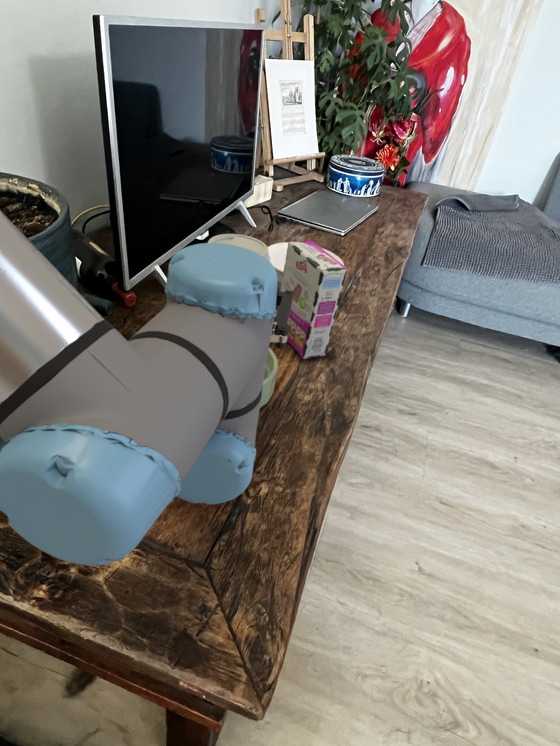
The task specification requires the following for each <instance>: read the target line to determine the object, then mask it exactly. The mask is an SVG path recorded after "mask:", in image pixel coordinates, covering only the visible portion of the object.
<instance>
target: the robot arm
mask: <svg viewBox="0 0 560 746" xmlns="http://www.w3.org/2000/svg"><path fill="white" fill-rule="evenodd" d="M164 293H165V295H166V296H165V297H166V298H165V299H166V303H165V305H164V308H162V309H161V310H160V311H159V312H158V313H156V315H154V317H152V319H150V320H149V321H148V322H147V323H146V324H145V325H143V326H142V327H141V328H140V329H139V330H138V331H137V332H135V333H134V334H133V335H132V336H131V337H129V339H126V338H125V337H124V336H123V335H122V334H121V333H120V332H119V331H118V330H117V329H116V328H115V327H114V326H113V325H112V324H111V323H110V322H109V321H108V320H107V319H105V318H104V317H103V316H102V315H101V314H100V313H99V312H98V311H97V309H95V308H94V307H93V306H92V304H90V302H89V301H87V300H86V298H85V297H84V296H83V295H82V294H81V293H80V292H79V291H78V290H77V289H76V288H75V287H74V286H73V285H72V284H71V283H70V282H69V281H68V280H67V278H66V277H65V276H64V275H63V274H62V273H61V272H60V271H59V270H58V269H57V268H56V267H55V265H54V264H52V263H51V262H50V260H48V259H47V258H46V257H45V255H44V254H43V253H42V252H41V251H40V250H39V249H38V248H37V247H36V246H35V245H34V244H33V243H32V242H31V241H30V239H28V237H27V236H25V234H24V233H23V232H22V231H21V230H20V228H18V227H17V226H16V225H15V224H14V223H13V222H12V220H10V219H9V218H8V217H7V215H5V214H4V212H2V210H0V438H1V440H3V441H4V442H5V445H3V447H1V449H0V512H2V513H3V514H5V515H6V516H7V523H8V526H9V527H11V528H12V530H14V532H16V533H17V534H18V535H19V536H20V537H21V538H22V539H24V540H25V541H26V542H28V543H30V544H31V545H32V546H34V547H36V548H37V549H39V550H40V551H42V552H44V553H46V554H47V555H49V556H52V557H54V558H56V559H59V560H61V561H64V562H67V563H70V564H75V565H81V566H87V567H90V566H103V565H108V564H111V563H113V562H115V563H116V562H118V561H120V560H124V559H125V558H126V556H128V555H129V554H130V553H132V552H133V551H134V550H135V548H137V547H138V545H139V544H140V543H141V541H142V540H143V539H144V537H145V536H146V534H147V533H148V532H149V530H150V529H152V527H153V526H154V524H155V522H156V521H157V520H158V518H159V517H160V516H161V514H162V513H163V512H164V510H165V509H166V508H167V506H169V505H170V504H172V502H173V501H174V499H175V498H178V499H180V500H182V501H186V502H188V503H192V504H205V505H219V504H224V503H227V502H229V501H233V500H234V499H236V498H238V497H239V496H240V495H241V494H243V493H244V492H245V491H246V489H247V488H248V486H249V485H250V483H251V480H252V478H253V475H254V474H253V473H254V463H255V462H256V457H257V448H256V439H257V430H258V422H259V415H260V410H261V408H260V404H261V398H262V388H263V380H264V375H265V369H266V363H267V357H268V351H269V348H270V344H271V343H274V345H275V347H276V348H277V349H279V350H280V349H281V350H284V349H286V348H287V343H288V342H287V339H288V333H289V326H288V324H287V322H288V318H289V314H290V311H291V305H292V300H293V294H294V293H293V292H292V291H290V290H286V291H284V292H281V291H280V290H279V280H278V277H277V273H276V270H275V268H274V267H273V265H272V264H271V263H270V262H269V261H268V260H267V259H266V258H264V257H263V256H261V255H260V254H258V253H256V252H254V251H252V250H250V249H247V248H243V247H239V246H235V245H231V244H224V243H208V242H203V243H196V244H191V245H187V246H185V247H184V248H183V247H182V249H180V250H178V251H177V252H176V253H175V254H173V255H172V257H171V258H170V261H169V263H168V268H167V276H166V284H165V285H164ZM278 306H279V309H278V312H277V307H278ZM275 319H276V321H275Z"/></svg>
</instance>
